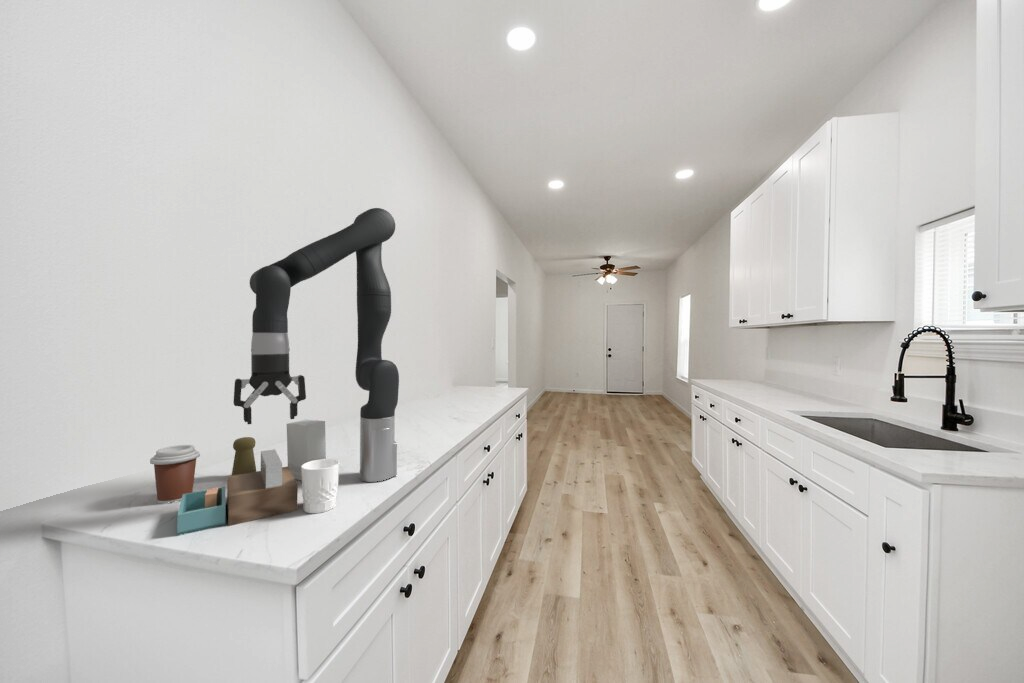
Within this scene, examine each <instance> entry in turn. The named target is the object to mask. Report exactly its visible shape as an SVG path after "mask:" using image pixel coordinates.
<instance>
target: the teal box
mask: <svg viewBox="0 0 1024 683" xmlns="http://www.w3.org/2000/svg"><path fill="white" fill-rule="evenodd" d="M218 488H219V505H218V506H215V507H210V508H205V494H206V492H207V490H208V489H204V490H198V491H193V492H192V493H186V494H183V495H182V499H181V501H180V504H179V508H178V512H177V517H176V518H177V523H176V524H177V528H176V532H177V534H176V535H178V536H181V535H180V534H182V535H185V534H184V533H187V534H191V533H195V531H196V532H199V530H200V531H205V530H208V529H212V528H217V527H218V528H219V527H221V526H222V527H223V526H226V508H227V507H226V504H227V503H226V486H221V487H218ZM204 508H205V509H204ZM199 509H200V510H199ZM194 510H195V511H194ZM189 511H190V512H189Z"/></svg>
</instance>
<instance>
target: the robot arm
mask: <svg viewBox="0 0 1024 683" xmlns="http://www.w3.org/2000/svg"><path fill="white" fill-rule="evenodd" d="M395 230H396V223H395V218H394V216H393V215H392V214H391V213H390V212H389V211H388V210H386V209H384V208H381V207H374V208H373V207H372V208H369V209H367V210H365V211H363V212H361V213H360V214H359V215H357V216H356V217H355V218H354V221H353V223H351V224H350V225H349V226H346V227H344V228H343V229H340V230H339V231H337V232H335V233H332V234H330V235H328V236H325V237H323V238H320V239H318V240H316V241H314V242H311V243H309V244H307V245H305V246H303V247H301V248H300V249H297V250H294V251H293V252H292V253H290V254H288V255H287V256H285V257H284V258H283V259H280V260H277V261H275V262H273V263H270V264H269V265H265V266H263V267H260V268H259V269H257V270H255V271H254V272H253V273H252V274H251V276H250V277H249V278H250V279H249V287H250V290H251V291H252V292H253V293H254V294H255V308H254V310H253V312H252V319H251V320H252V321H251V323H252V324H251V328H252V330H251V332H252V336H251V342H250V344H251V346H250V352H251V354H250V355H251V358H250V362H251V363H250V364H251V368H250V369H251V373H250V374H251V376H250V378H246V379H245V378H243V379H242V378H236V379H234V385H233V386H234V388H233V389H234V390H233V405H234V406H235V407H241V408H242V409H243V421H244V423H247V425H252V407H251V406H252V404H253V403H254V402H255V401H256V400H257V399H258V398H259V396H262V397H269V396H280V395H282V394H283V395H284V396H285V397H286V398H287V399H288V400H289V401H290V403H289V419H290V420H294V419H295V417H297V416H298V404H299V402H301V401H302V402H303V401H305V400H306V399H307V394H306V380H305V376H304V375H302V374H299V375H296V376H295V375H294V376H291V375H290V374H291V373H290V352H291V351H290V340H289V333H288V332H289V331H288V330H289V329H288V328H289V325H288V320H289V319H288V312H289V305H290V299H291V289H292V288H293V287H294V286H296V285H297V284H299V283H301V282H303V281H306V280H309V279H312V278H314V277H315V276H316V275H318V274H320V273H322V272H324V271H326V270H328V269H329V268H331V267H332V266H334V265H335V264H338V262H340V261H342V260H344V259H345V258H347V257H348V256H350V255H352V254H354V253H355V256H356V257H355V258H356V314H357V348H356V349H357V350H356V361H355V374H354V375H355V380H356V383H357V385H358V387H360V388H361V389H362V390H364V391H368V399H367V402H366V403H365V404H364V405H362V406H361V407H360V413H359V414H360V415H359V416H360V417H359V418H360V421H359V425H360V426H359V430H360V431H359V479H360V480H361V482H367V483H378V482H383V480H384V481H387V480H390V479H392V478H393V476H394V477H397V476H396V475H398V472H397V470H398V469H397V468H398V461H397V460H398V443H397V441H395V424H396V423H395V420H396V418H395V416H396V413H395V412H396V409H397V405H398V400H399V387H400V374H399V369H398V367H397V365H396V364H395V363H394V362H393V361H391V360H389V359H388V360H387V359H382V358H383V357H382V343H383V337H384V335H385V332H386V330H387V327H388V325H389V323H390V319H391V317H392V292H391V286H390V284H389V281H388V278H387V276H386V272H385V271H384V268H383V264H382V263H383V262H382V260H383V259H382V251H383V250H382V249H383V248H382V246H383V243H384V242H386V241H388V240H390V239H391V238H392V236H394V234H395ZM292 382H293V383H294V384H295V385H296V386H297V390H298V395H296V396H294V394H293V392H291V391H290V390H289V389H288V386H290V384H291V383H292ZM247 385H250V386H251V387H252V389H253V391H252V392H251V393H250V394H249V396H248V397H247V398H246V399H245V400H242V398H241V397H242V390H243V389H245V388H246V386H247ZM391 477H392V478H391ZM389 478H390V479H389ZM386 479H387V480H386ZM377 481H378V482H377Z"/></svg>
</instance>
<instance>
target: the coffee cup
mask: <svg viewBox="0 0 1024 683" xmlns="http://www.w3.org/2000/svg"><path fill="white" fill-rule="evenodd" d="M195 448H196V447H195V446H194V445H191V444H183V445H182V444H181V445H173V446H168V447H163V448H160V449H158V450H157V451H156V452H155V455H154V456H153V457H151V458H150V459H149V463H150V464H151V465H153V468H154V478H155V480H154V481H155V488H156V501H157V502H159V503H158V504H160V503H168V502H175V501H179V502H181V501H180V500H181V499H182V495H183V494H186V493H192V492H194V491H193V490H194V481H195V475H196V474H195V473H196V465H197V459H198V458H199V457H201V453H200V451H198V450H196V449H195ZM175 503H176V502H175ZM168 504H169V503H168Z"/></svg>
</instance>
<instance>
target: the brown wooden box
mask: <svg viewBox="0 0 1024 683" xmlns="http://www.w3.org/2000/svg"><path fill="white" fill-rule="evenodd" d="M226 486H227V494H226V495H227V499H226V500H227V501H226V504H227V522H228V523H227V526H228V527H229V526H233V525H238V524H239V525H240V524H243V523H246V522H251V521H256V520H260V519H264V518H270V517H273V516H278V515H282V514H286V513H291V512H296V511H298V492H299V491H298V487H299V486H298V482H297V479H295V478H294V476H293V474H292V472H291V471H290V469H289V467H288V465H287V466H282V486H279V487H274V488H268V489H266V488H265V485H264V481H263V478H262V475H261V470H256V472H251V473H245V474H239V475H233V476H231V475H228V476H227V485H226Z"/></svg>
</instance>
